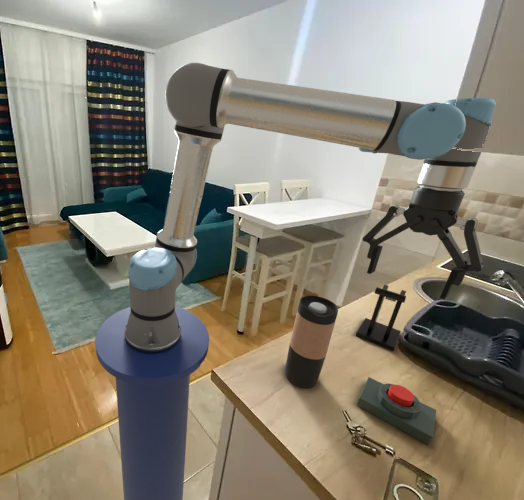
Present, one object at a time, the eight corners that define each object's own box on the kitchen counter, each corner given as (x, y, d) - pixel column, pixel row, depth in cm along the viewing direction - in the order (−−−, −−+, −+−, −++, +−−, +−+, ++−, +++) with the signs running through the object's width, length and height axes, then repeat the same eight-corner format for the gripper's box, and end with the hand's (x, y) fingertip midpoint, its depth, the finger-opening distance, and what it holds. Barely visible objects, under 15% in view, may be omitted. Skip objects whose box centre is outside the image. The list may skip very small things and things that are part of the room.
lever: (403, 304, 68) (406, 294, 68) (373, 294, 72) (377, 285, 71) (403, 304, 78) (406, 296, 78) (377, 296, 82) (380, 288, 82)
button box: (356, 405, 62) (361, 391, 60) (365, 383, 67) (370, 370, 65) (428, 445, 54) (436, 430, 52) (432, 417, 59) (439, 403, 58)
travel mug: (299, 360, 73) (316, 292, 66) (325, 382, 67) (347, 310, 59) (276, 369, 70) (291, 299, 63) (301, 394, 64) (321, 318, 56)
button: (385, 398, 59) (388, 392, 58) (389, 387, 62) (392, 381, 61) (410, 411, 56) (413, 404, 56) (412, 398, 59) (415, 392, 58)
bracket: (393, 351, 77) (411, 304, 72) (355, 335, 83) (370, 290, 78) (399, 334, 84) (416, 290, 78) (364, 320, 90) (378, 278, 84)
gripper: (539, 197, 49) (485, 303, 57) (376, 177, 68) (352, 260, 76) (535, 202, 45) (478, 316, 53) (362, 180, 63) (339, 267, 71)
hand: (404, 283), depth 64 cm, fingers open, 13 cm apart
